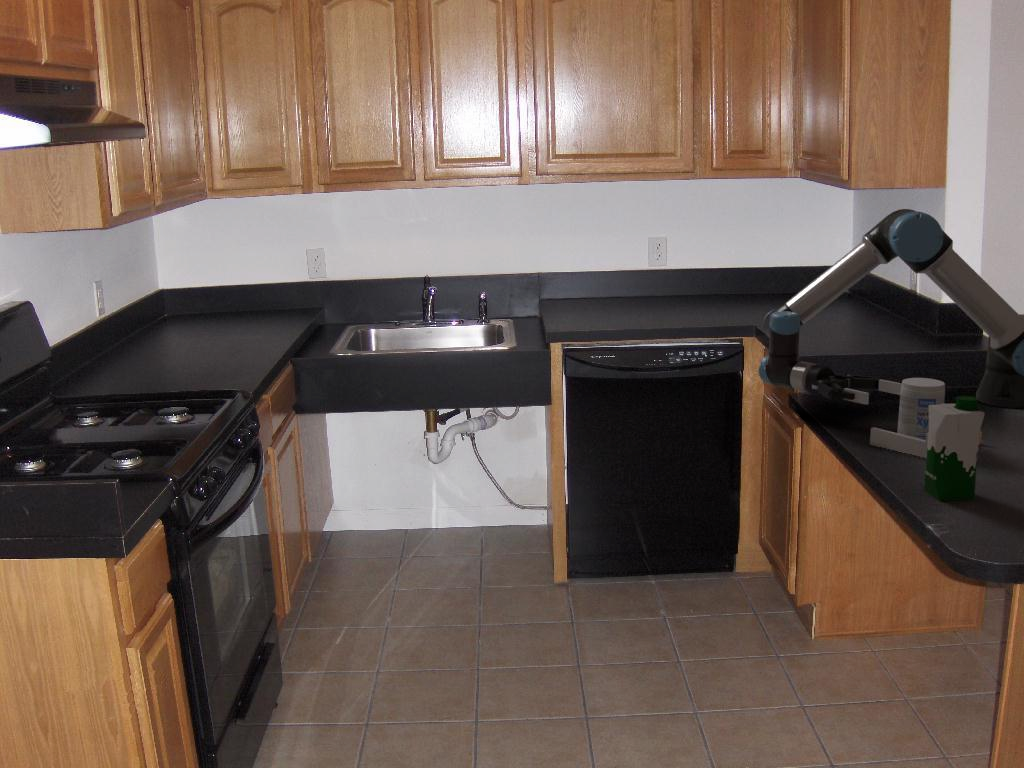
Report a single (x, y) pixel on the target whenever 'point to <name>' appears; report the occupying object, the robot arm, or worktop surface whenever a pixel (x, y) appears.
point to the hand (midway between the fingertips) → (885, 394)
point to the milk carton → (953, 449)
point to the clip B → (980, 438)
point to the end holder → (899, 442)
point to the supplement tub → (918, 405)
